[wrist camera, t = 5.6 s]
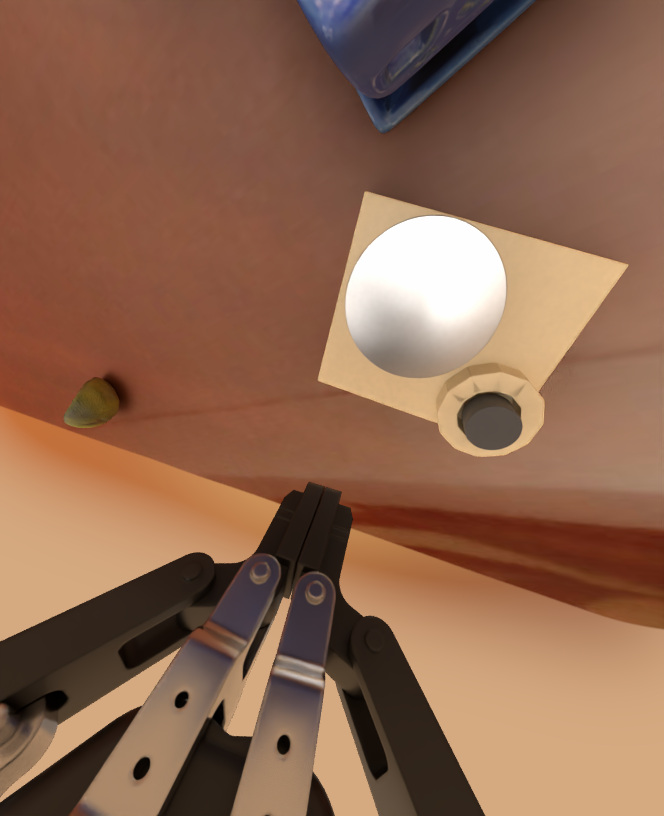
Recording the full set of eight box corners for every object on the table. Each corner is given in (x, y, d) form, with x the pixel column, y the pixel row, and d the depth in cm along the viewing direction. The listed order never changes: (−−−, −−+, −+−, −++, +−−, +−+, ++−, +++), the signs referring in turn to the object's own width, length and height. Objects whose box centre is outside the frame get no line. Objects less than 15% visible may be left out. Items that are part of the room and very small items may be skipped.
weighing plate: (331, 351, 19) (329, 352, 18) (372, 195, 14) (371, 193, 14) (458, 394, 18) (459, 397, 18) (542, 242, 14) (545, 242, 13)
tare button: (453, 425, 19) (455, 439, 18) (475, 386, 18) (480, 399, 16) (497, 441, 19) (504, 457, 17) (524, 403, 17) (534, 417, 16)
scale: (320, 380, 23) (307, 395, 21) (367, 194, 17) (358, 183, 14) (498, 443, 22) (509, 469, 19) (624, 266, 15) (665, 268, 13)
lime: (104, 410, 32) (55, 434, 28) (88, 368, 30) (32, 388, 25) (137, 416, 31) (92, 442, 27) (123, 374, 29) (72, 395, 24)
